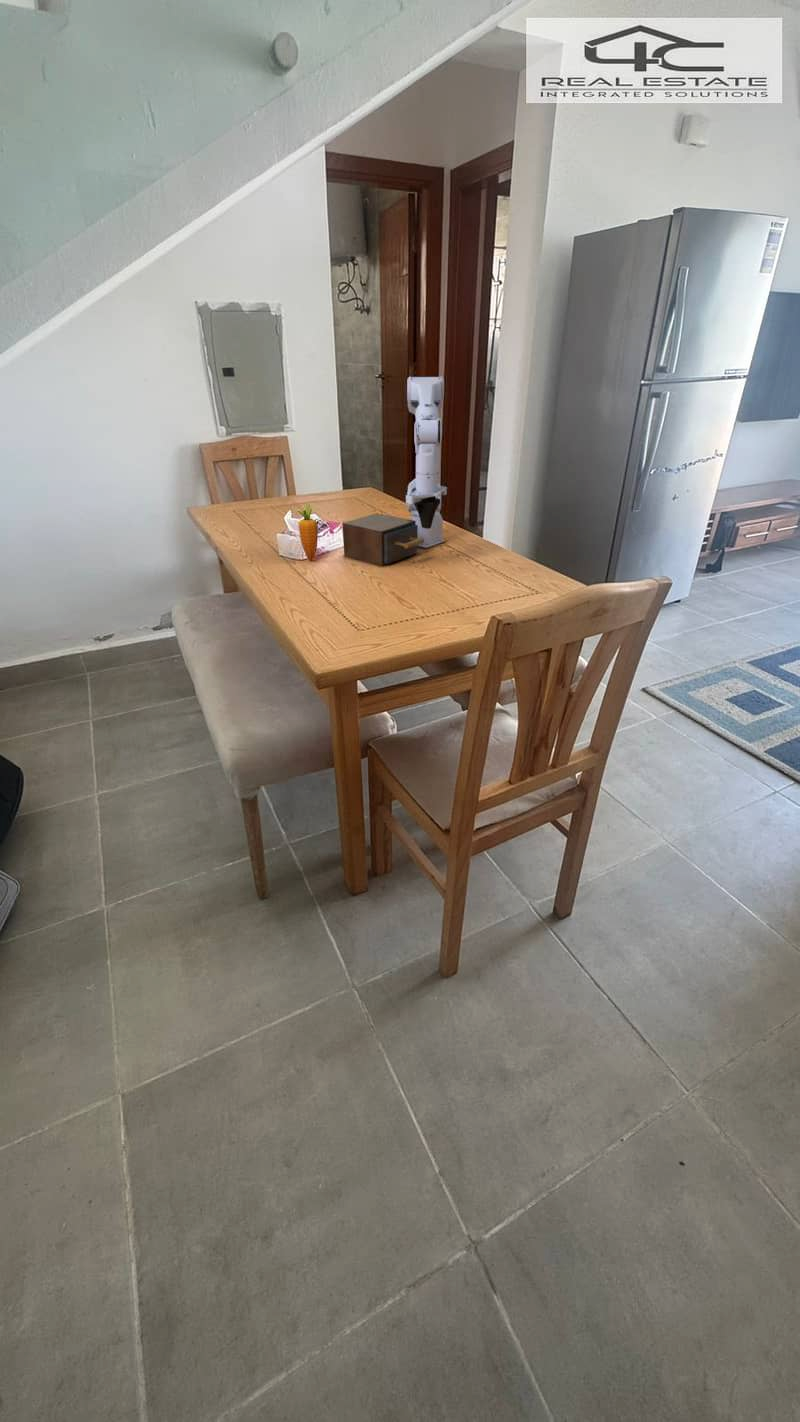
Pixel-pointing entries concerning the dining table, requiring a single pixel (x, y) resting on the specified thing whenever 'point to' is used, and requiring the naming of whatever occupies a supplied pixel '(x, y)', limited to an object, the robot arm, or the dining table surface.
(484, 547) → the dining table surface
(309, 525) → the carrot
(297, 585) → the dining table surface
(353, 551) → the cabinet
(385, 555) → the drawer
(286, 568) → the dining table surface
